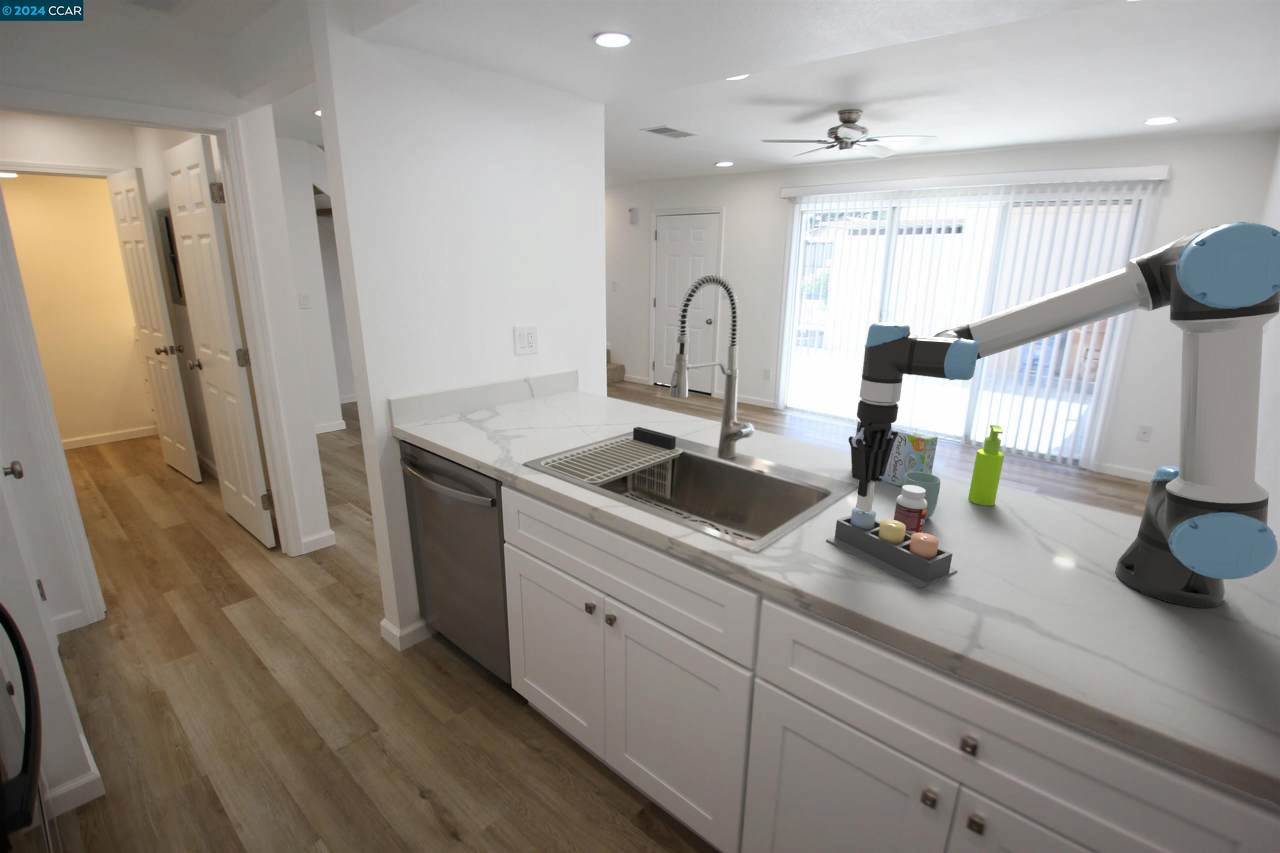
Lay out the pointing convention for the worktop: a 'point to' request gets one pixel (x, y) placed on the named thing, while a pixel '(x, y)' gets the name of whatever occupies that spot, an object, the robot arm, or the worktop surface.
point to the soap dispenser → (987, 470)
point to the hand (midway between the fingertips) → (863, 509)
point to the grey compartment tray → (891, 554)
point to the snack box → (909, 454)
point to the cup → (929, 484)
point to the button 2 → (892, 531)
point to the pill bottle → (911, 508)
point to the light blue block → (863, 519)
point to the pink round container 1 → (924, 545)
